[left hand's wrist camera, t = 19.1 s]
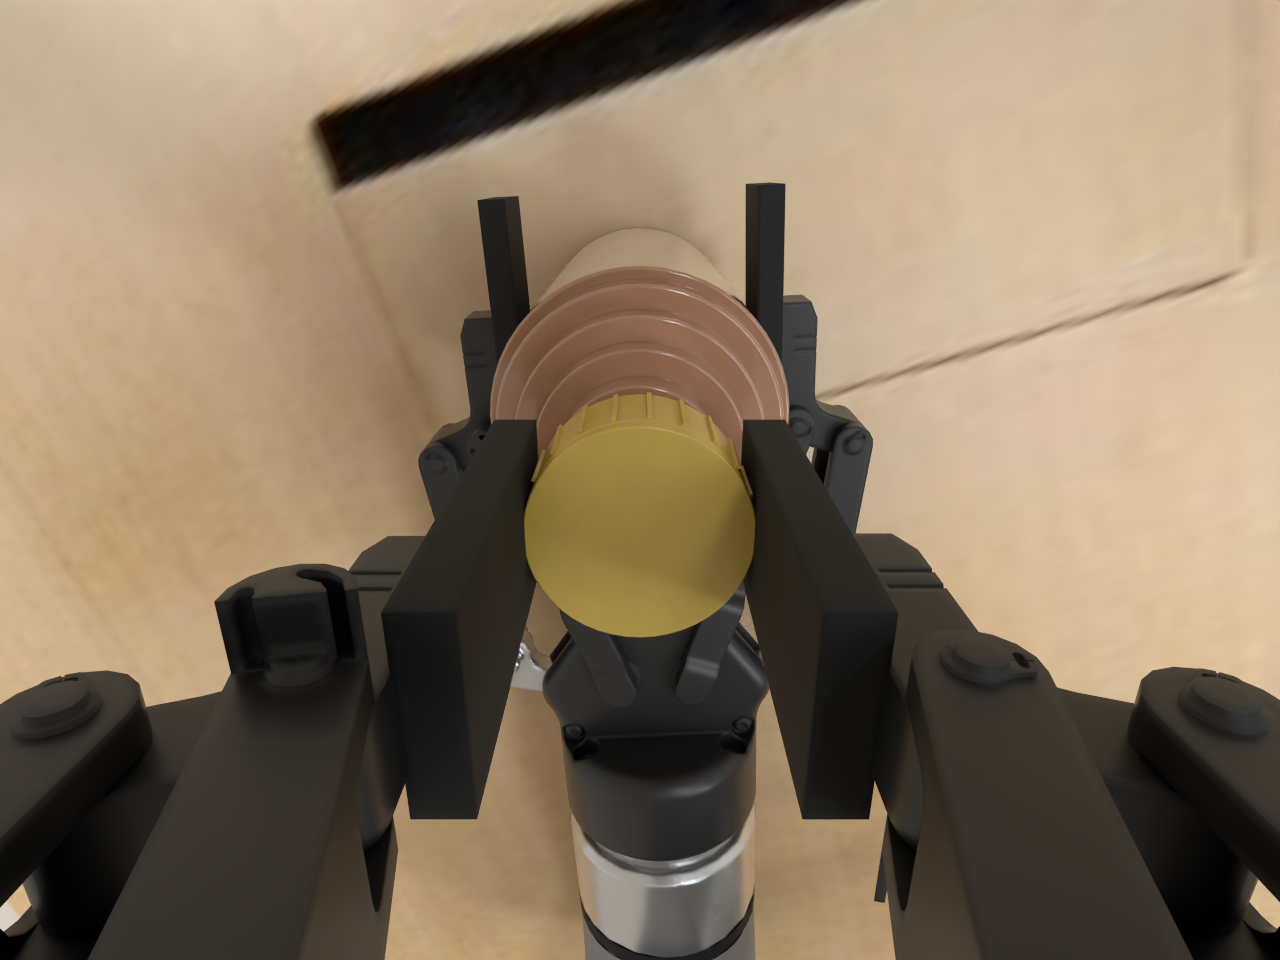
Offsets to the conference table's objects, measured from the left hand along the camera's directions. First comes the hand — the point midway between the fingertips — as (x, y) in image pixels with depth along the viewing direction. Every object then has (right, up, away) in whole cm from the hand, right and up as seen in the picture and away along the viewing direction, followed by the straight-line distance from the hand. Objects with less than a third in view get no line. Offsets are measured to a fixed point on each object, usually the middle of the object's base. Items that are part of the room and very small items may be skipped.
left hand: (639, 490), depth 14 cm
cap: (0, -1, -2) cm, 2 cm away
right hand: (0, +9, +8) cm, 12 cm away
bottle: (0, +6, +16) cm, 17 cm away
